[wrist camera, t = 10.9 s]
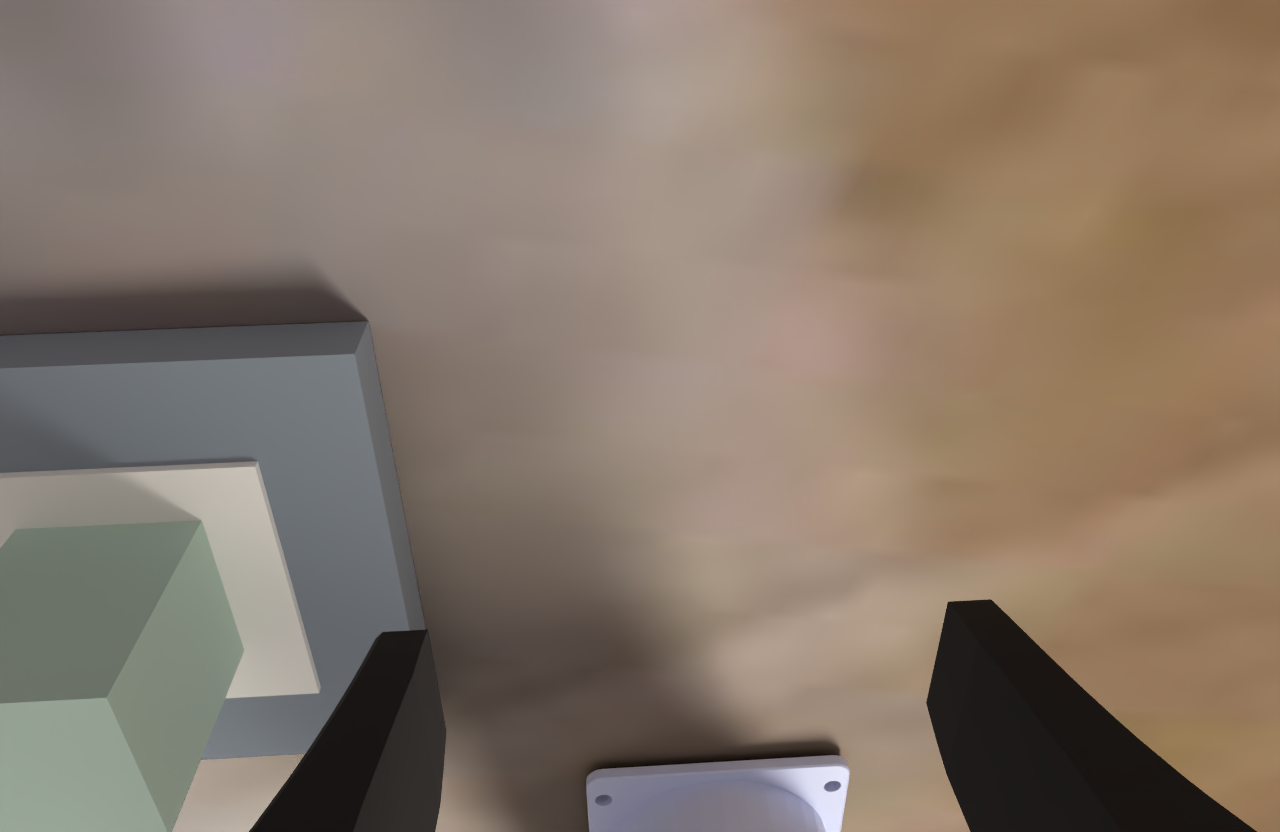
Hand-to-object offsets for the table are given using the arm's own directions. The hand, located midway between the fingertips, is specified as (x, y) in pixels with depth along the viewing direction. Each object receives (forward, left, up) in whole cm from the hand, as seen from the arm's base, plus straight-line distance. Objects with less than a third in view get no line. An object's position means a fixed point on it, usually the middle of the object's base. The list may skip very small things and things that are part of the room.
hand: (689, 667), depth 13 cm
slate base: (-5, +12, -9) cm, 16 cm away
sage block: (-5, +12, -8) cm, 15 cm away
